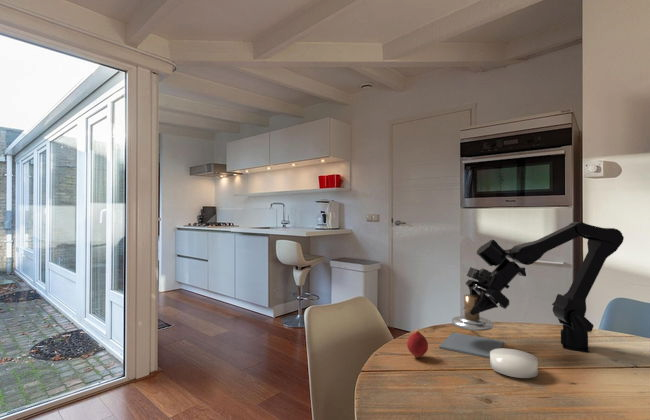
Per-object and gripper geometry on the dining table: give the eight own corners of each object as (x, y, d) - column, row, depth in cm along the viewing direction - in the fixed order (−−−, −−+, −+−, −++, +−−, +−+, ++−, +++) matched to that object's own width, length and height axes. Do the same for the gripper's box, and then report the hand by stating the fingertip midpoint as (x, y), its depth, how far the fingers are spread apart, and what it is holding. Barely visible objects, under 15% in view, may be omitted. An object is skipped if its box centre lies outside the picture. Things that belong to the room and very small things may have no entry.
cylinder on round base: (501, 326, 108) (500, 297, 108) (476, 333, 102) (476, 302, 102) (468, 316, 119) (467, 290, 119) (444, 322, 112) (443, 294, 113)
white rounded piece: (539, 369, 93) (538, 353, 93) (536, 385, 84) (536, 368, 84) (493, 359, 99) (493, 345, 99) (486, 374, 90) (486, 358, 90)
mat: (503, 343, 112) (503, 341, 112) (495, 359, 99) (495, 357, 99) (452, 334, 121) (452, 332, 121) (439, 348, 108) (439, 346, 108)
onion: (425, 354, 103) (425, 327, 103) (429, 362, 98) (429, 333, 98) (406, 353, 104) (405, 326, 104) (408, 361, 98) (408, 332, 98)
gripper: (470, 255, 120) (439, 288, 120) (497, 262, 102) (461, 301, 101) (493, 278, 120) (462, 311, 120) (525, 289, 102) (488, 327, 101)
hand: (467, 311), depth 110 cm, fingers closed on cylinder on round base, 4 cm apart
